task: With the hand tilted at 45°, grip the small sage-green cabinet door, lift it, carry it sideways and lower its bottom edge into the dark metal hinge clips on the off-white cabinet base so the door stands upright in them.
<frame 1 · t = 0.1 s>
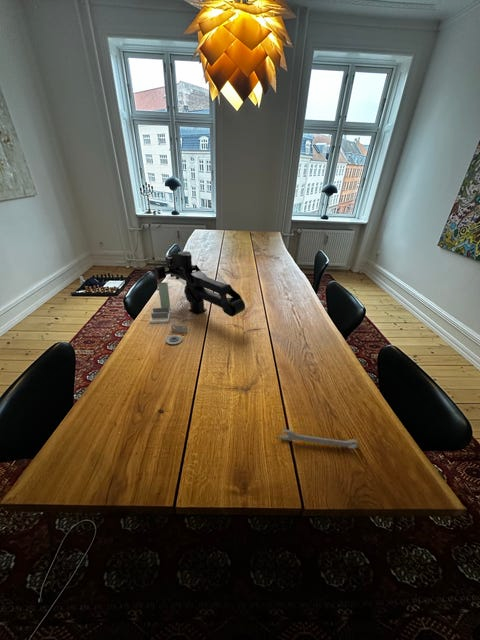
hand: (162, 265, 130), 17 cm above the table, tool horizontal, fingers open, 9 cm apart
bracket: (176, 338, 105), on the table
cabinet door: (165, 306, 127), on the table
combination wrench: (316, 443, 66), on the table
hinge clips: (160, 317, 118), on the table
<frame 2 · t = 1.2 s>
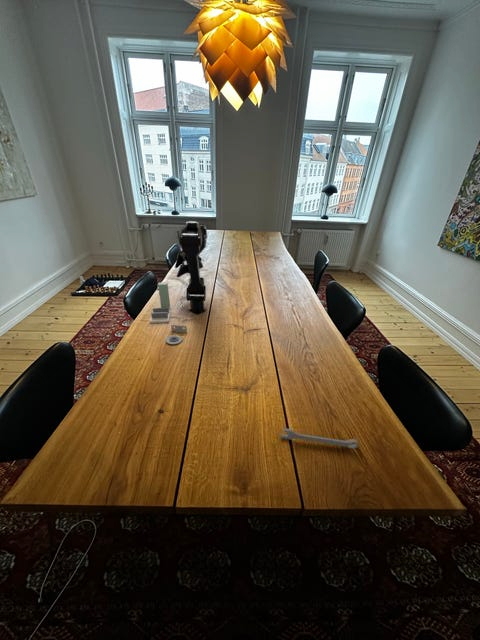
hand: (176, 272, 132), 13 cm above the table, tool tilted 40°, fingers open, 9 cm apart
nothing on the table moved.
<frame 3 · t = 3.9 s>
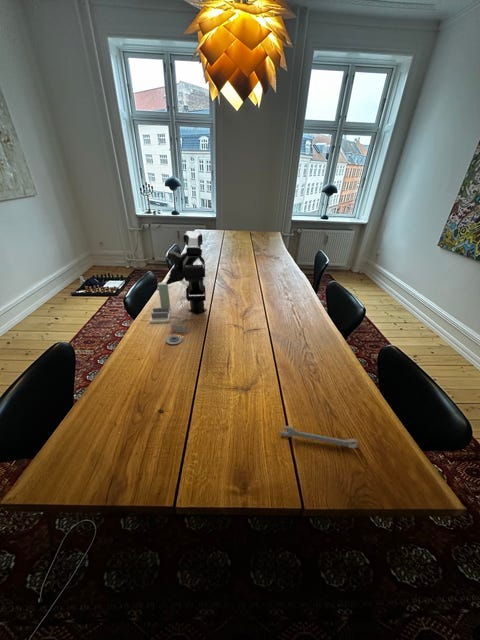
hand: (168, 280, 121), 14 cm above the table, tool tilted 45°, fingers open, 9 cm apart
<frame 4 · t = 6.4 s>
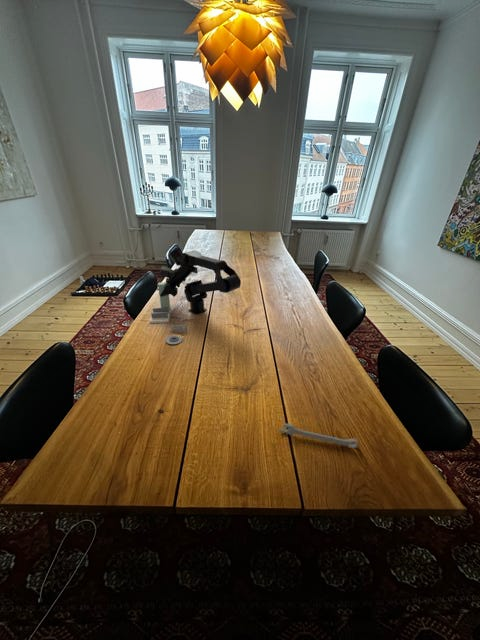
hand: (161, 294, 123), 7 cm above the table, tool tilted 45°, fingers closed on cabinet door, 2 cm apart
cabinet door: (165, 306, 127), on the table, touching gripper
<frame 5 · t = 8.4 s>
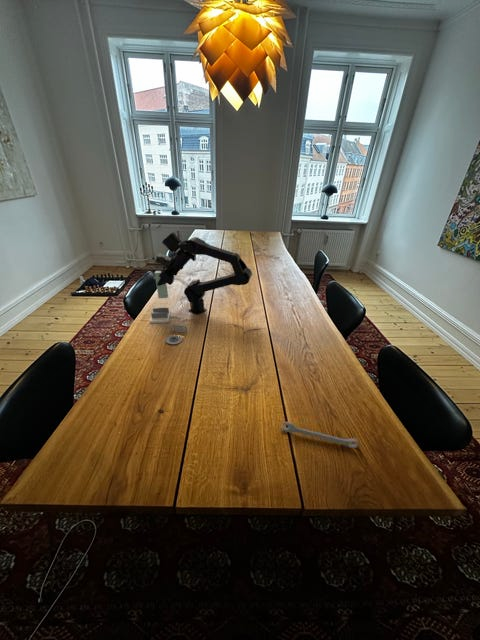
hand: (158, 284, 118), 13 cm above the table, tool tilted 45°, fingers closed on cabinet door, 2 cm apart
cabinet door: (163, 297, 121), point 7 cm above the table, touching gripper
when the fingers open (9 cm above the table, at t = 10.5 s): cabinet door stays where it is, resting on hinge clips.
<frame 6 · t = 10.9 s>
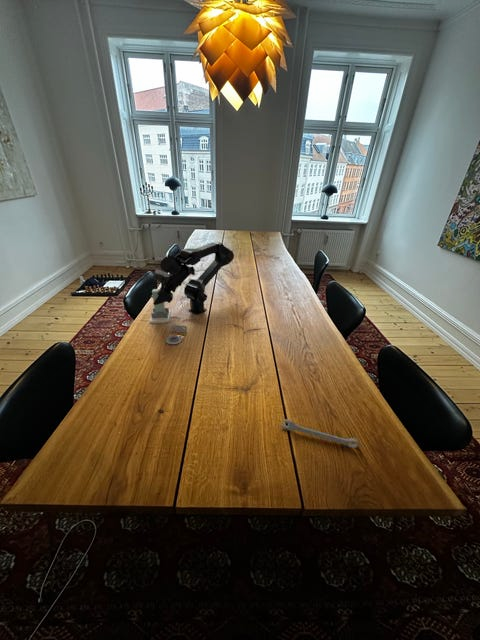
hand: (155, 300, 114), 9 cm above the table, tool tilted 45°, fingers open, 7 cm apart
cabinet door: (160, 315, 118), point 1 cm above the table, touching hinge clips
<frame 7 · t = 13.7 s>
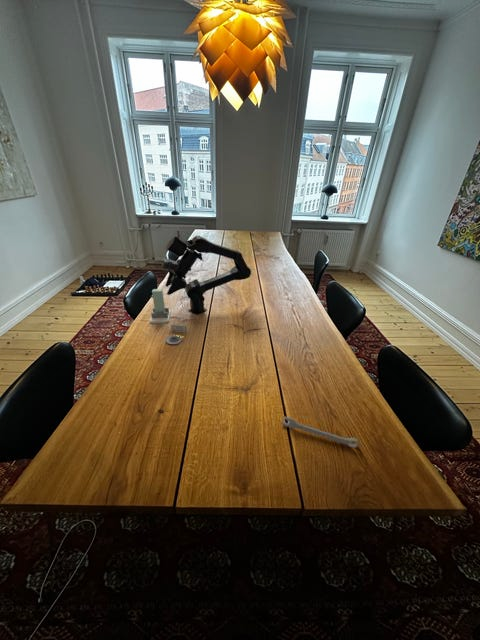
hand: (166, 290, 115), 12 cm above the table, tool tilted 40°, fingers open, 9 cm apart
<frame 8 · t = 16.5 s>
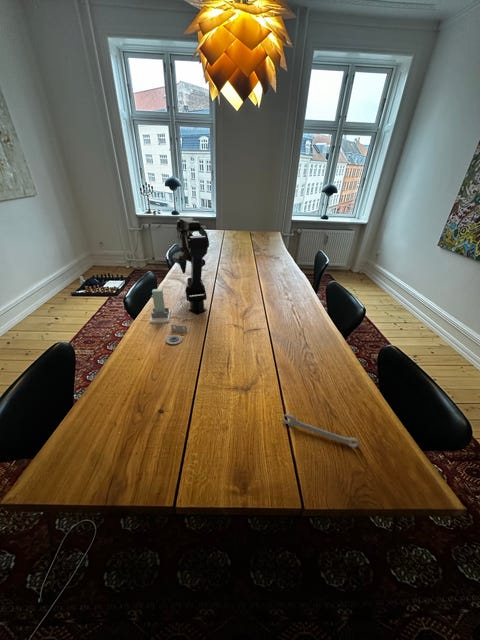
hand: (189, 275, 132), 12 cm above the table, tool pointing down, fingers open, 9 cm apart
at the end: cabinet door 0.1 cm off-centre on the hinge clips, point 1.0 cm above the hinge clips's base; cabinet door tilted 0°; the gripper is holding nothing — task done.
